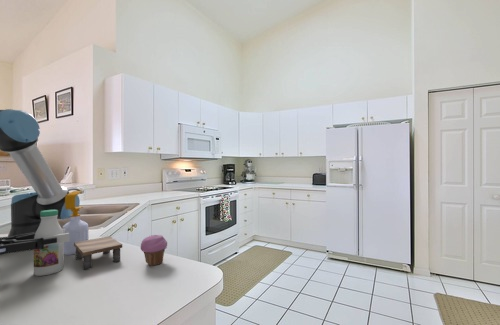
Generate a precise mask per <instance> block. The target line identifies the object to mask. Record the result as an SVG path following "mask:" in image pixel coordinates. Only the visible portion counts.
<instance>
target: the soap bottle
mask: <svg viewBox="0 0 500 325" xmlns="http://www.w3.org/2000/svg"><path fill="white" fill-rule="evenodd" d="M82 193H83V191H82V190H72V191H71V192H69V194H67V195H66V196H65V209H71V211H72V212H73V215H70V218H69V219H70V221H68V222H66V223H65V224H64V225H62V227H61V228H62V229H65V234H66V233H69V242H64V256H69V255H76V248H75V246H74V243H75V242H80V241H86V240H89V224H88V223H87V222H86V221H85V220H81V214H79V211H80V210H81V209H84V206H79V207H75V197H76V195H78V196H79V195H80V194H82Z"/></svg>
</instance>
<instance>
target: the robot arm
mask: <svg viewBox="0 0 500 325" xmlns="http://www.w3.org/2000/svg"><path fill="white" fill-rule="evenodd" d="M39 124H40V123H38V120H37V119H36V118H35V117H34V116H33V115H32V114H30V113H29V112H27V111H24V110H20V109H19V110H18V109H11V108H10V109H7V108H5V109H0V151H1V152H3V153H7V154H9V155H10V157H11V158H12V160H13V161H14V163H15V164H16V165H17V167H18V169H19V170H20V171H21V173H22V174H23V176H24V177H25V178H26V180H27V182H28V183H29V184H30V186H31V187H32V189H33V190H34V192H25V193H20V194H19V193H18V194H15V195H13V196H12V197H11V201H10V202H11V203H10V225H11V226H10V230H9V233H8V235H7V236H2V237H1V236H0V256H2V255H6V254H13V253H19V252H25V251H26V252H27V251H34V249H40V250H41V249H44V246H48V245H53V244H59V243H64V242H69V233H66V234H65V229H62V230H63V234H59V235H53V236H47V237H44V238H39V239H34V236H35V233H36V231H37V229H38V227H39V225H40V223H41V218H40V217H41V216H40V212H41V211H45V210H58V216H57V220H66V219H67V220H69V219H70V215H73V212H72V211H71V209H65V196H66V195H67V194H69V193H70V192H69V190H68V188H67V187H65V186H63V185H61V184H60V182H59V181H58V179H57V178H56V176H55V174H54V172H53V171H52V168H51V167H50V165H49V164H48V162H47V160H46V158H45V157H44V156H43V154H42V152H41V150H40V149H39V147H38V145H37V143H38V141H39V136H40V134H41V131H40V129H41V127H40V125H39ZM80 200H81V199H80V196H79V194H78V195H76V197H75V207H80Z"/></svg>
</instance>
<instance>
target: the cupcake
mask: <svg viewBox="0 0 500 325" xmlns="http://www.w3.org/2000/svg"><path fill="white" fill-rule="evenodd" d="M167 247H168V240H166V238H165V237H164V236H163V235H162V234H152V235H149V236H146V237H145V238H143V239H142V241H141V243H140V250H141V252H142V253H143V255H144V260H145V263H146V264H147V265H148V266H151V267H152V266H156V265H160V264H162V263H163V262H164V255H165V250H166V249H167Z"/></svg>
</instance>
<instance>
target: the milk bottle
mask: <svg viewBox="0 0 500 325" xmlns="http://www.w3.org/2000/svg"><path fill="white" fill-rule="evenodd" d="M40 216H41V217H40V218H41V223H40V225H39V227H38V229H37V231H36V233H35V236H34V239H39V238H44V237H47V236H53V235H59V234H63V230H62V227H61V225H60V222H59V219H57V216H58V210H45V211H41V212H40ZM64 257H65V254H64V243H59V244H53V245H48V246H44V249H41V250H40V249H34V250H33V275H34V276H36V277H38V276H40V277H41V276H42V277H43V276H48V275H53V274H57V273H58V272H60V271H63V269H64V267H65V266H64V264H65V263H64V262H65V258H64Z"/></svg>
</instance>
